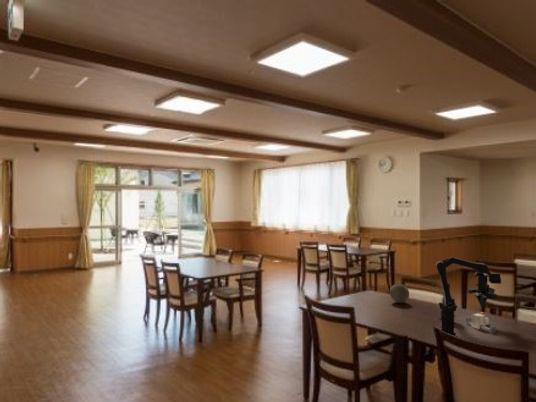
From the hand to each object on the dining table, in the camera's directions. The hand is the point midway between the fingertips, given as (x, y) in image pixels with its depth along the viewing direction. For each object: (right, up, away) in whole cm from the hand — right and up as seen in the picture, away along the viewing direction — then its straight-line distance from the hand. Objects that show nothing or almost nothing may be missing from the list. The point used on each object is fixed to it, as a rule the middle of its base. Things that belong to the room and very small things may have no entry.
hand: (482, 306), depth 264 cm
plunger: (0, -9, 0) cm, 9 cm away
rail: (-6, -11, -10) cm, 16 cm away
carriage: (-7, -11, -8) cm, 15 cm away
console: (0, -11, 0) cm, 11 cm away
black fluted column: (-36, -11, -29) cm, 47 cm away
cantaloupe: (-37, -11, +52) cm, 65 cm away
